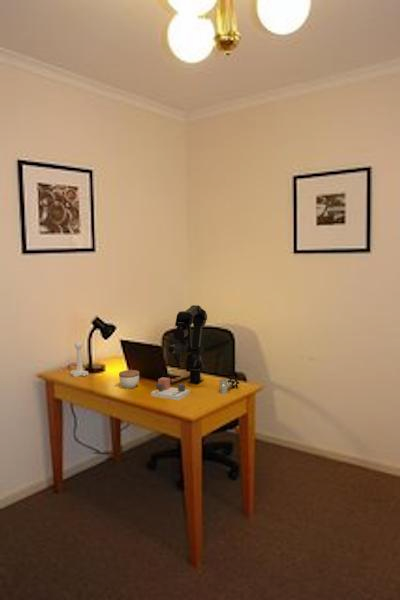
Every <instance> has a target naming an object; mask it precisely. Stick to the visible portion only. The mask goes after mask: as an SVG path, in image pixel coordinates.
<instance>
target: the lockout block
mask: <svg viewBox="0 0 400 600" xmlns="http://www.w3.org/2000/svg"><path fill="white" fill-rule="evenodd" d="M157 384H162V385H163V390H167V389H169V388H170V387H171V378H170V377H163V376H162V377H160V378H158V379H157Z"/></svg>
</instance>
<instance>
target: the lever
mask: <svg viewBox="0 0 400 600" xmlns="http://www.w3.org/2000/svg"><path fill="white" fill-rule="evenodd" d="M185 385H186V384H185V383H178V384H177V388H178V391H185V389H186V386H185Z"/></svg>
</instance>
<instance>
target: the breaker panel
mask: <svg viewBox="0 0 400 600" xmlns="http://www.w3.org/2000/svg"><path fill="white" fill-rule="evenodd" d="M190 393H191V391H190V389H186V388H185V391H178V387H172V386H170V388H169V389H167V390H163V391H159V390H156V389H154V390H152V391H151V392H150V397H153V396H154V398H161V399H167V400H174V401H180V400H182V399H183V398H185V397H187V396H189V395H190Z"/></svg>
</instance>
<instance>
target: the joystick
mask: <svg viewBox="0 0 400 600" xmlns="http://www.w3.org/2000/svg"><path fill="white" fill-rule="evenodd" d="M74 348H75V349H76V369H72V370H70V371H69V373H70V375H72V377H73V378H78V377H80V376H82V377H86V376H87V377H88V376H89V371H88V370H84V369H83V359H82V358H83V357H82V348H83V342H81V341H78V340H77V341H76V342H75V343H74Z"/></svg>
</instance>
